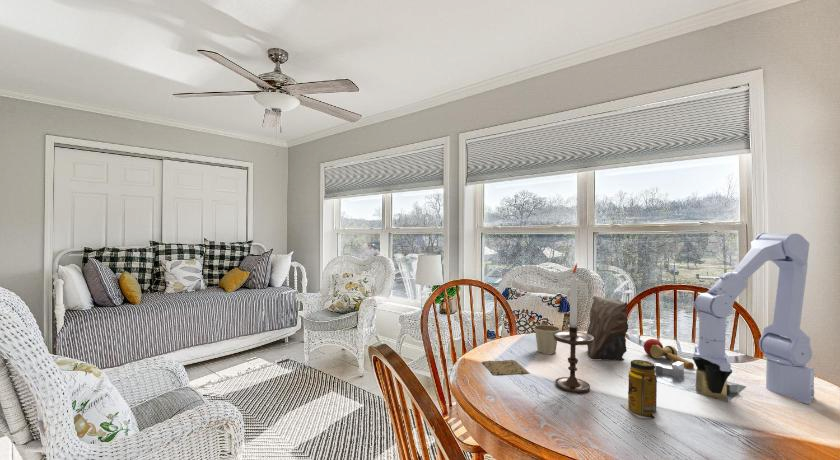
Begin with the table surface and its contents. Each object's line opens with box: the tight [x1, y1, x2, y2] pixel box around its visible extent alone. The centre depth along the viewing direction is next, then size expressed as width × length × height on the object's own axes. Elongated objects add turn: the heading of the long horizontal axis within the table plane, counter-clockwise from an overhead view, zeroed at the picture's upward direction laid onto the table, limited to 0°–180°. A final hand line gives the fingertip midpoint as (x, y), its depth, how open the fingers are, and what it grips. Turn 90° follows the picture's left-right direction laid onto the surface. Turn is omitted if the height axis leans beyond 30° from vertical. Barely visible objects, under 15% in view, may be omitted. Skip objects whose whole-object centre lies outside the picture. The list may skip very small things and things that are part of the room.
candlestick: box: [553, 263, 594, 394], centre depth 110 cm, size 11×11×35 cm
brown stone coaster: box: [481, 359, 531, 376], centre depth 125 cm, size 12×12×1 cm
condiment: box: [621, 359, 658, 420], centre depth 96 cm, size 7×8×12 cm
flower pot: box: [532, 324, 562, 355], centre depth 141 cm, size 9×9×9 cm
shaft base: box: [654, 361, 747, 403], centre depth 113 cm, size 21×17×4 cm
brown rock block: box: [586, 295, 629, 361], centre depth 138 cm, size 13×13×20 cm
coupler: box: [695, 368, 728, 397], centre depth 105 cm, size 6×4×6 cm, turn 77°
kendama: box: [643, 338, 695, 370], centre depth 132 cm, size 8×6×18 cm
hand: (710, 388), depth 105 cm, fingers open, 5 cm apart
